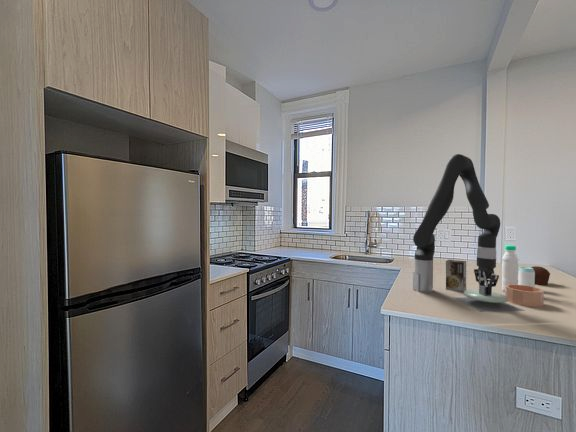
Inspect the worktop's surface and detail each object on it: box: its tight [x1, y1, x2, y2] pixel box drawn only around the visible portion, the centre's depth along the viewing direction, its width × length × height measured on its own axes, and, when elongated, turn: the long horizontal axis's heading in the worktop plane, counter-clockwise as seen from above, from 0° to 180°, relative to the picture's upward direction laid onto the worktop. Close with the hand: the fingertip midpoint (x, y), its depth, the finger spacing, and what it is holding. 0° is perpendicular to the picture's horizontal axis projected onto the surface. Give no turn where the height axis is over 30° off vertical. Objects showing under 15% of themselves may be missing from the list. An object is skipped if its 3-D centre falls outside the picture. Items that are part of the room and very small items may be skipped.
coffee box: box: [445, 259, 467, 292], centre depth 164 cm, size 9×6×16 cm
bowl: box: [504, 284, 545, 308], centre depth 141 cm, size 14×14×7 cm
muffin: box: [530, 266, 551, 286], centre depth 178 cm, size 12×11×10 cm
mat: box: [453, 296, 526, 312], centre depth 138 cm, size 20×20×1 cm
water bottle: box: [501, 244, 519, 292], centre depth 160 cm, size 7×7×25 cm
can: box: [518, 266, 536, 287], centre depth 165 cm, size 7×7×12 cm
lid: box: [463, 284, 508, 303], centre depth 138 cm, size 17×17×5 cm
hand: (485, 293), depth 138 cm, fingers closed on lid, 3 cm apart
